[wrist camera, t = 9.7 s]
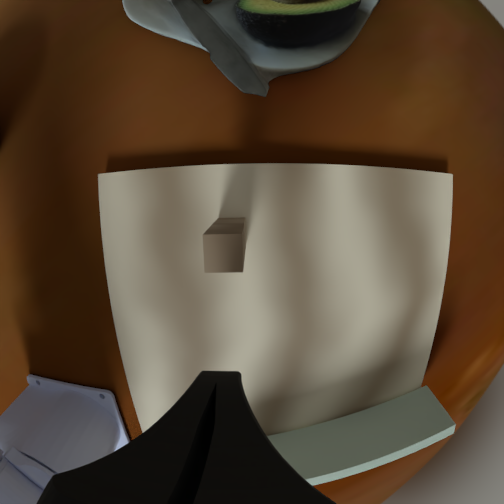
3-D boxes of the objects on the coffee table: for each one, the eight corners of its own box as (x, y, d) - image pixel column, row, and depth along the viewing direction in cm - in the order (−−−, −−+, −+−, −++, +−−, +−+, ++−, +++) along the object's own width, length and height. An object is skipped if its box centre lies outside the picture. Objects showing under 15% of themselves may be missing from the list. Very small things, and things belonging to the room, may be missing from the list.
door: (232, 440, 21) (228, 492, 15) (426, 384, 20) (456, 424, 14) (241, 457, 21) (239, 506, 16) (425, 403, 20) (452, 443, 15)
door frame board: (155, 455, 23) (139, 508, 16) (105, 174, 17) (44, 174, 11) (392, 445, 23) (415, 494, 16) (444, 174, 17) (509, 176, 11)
